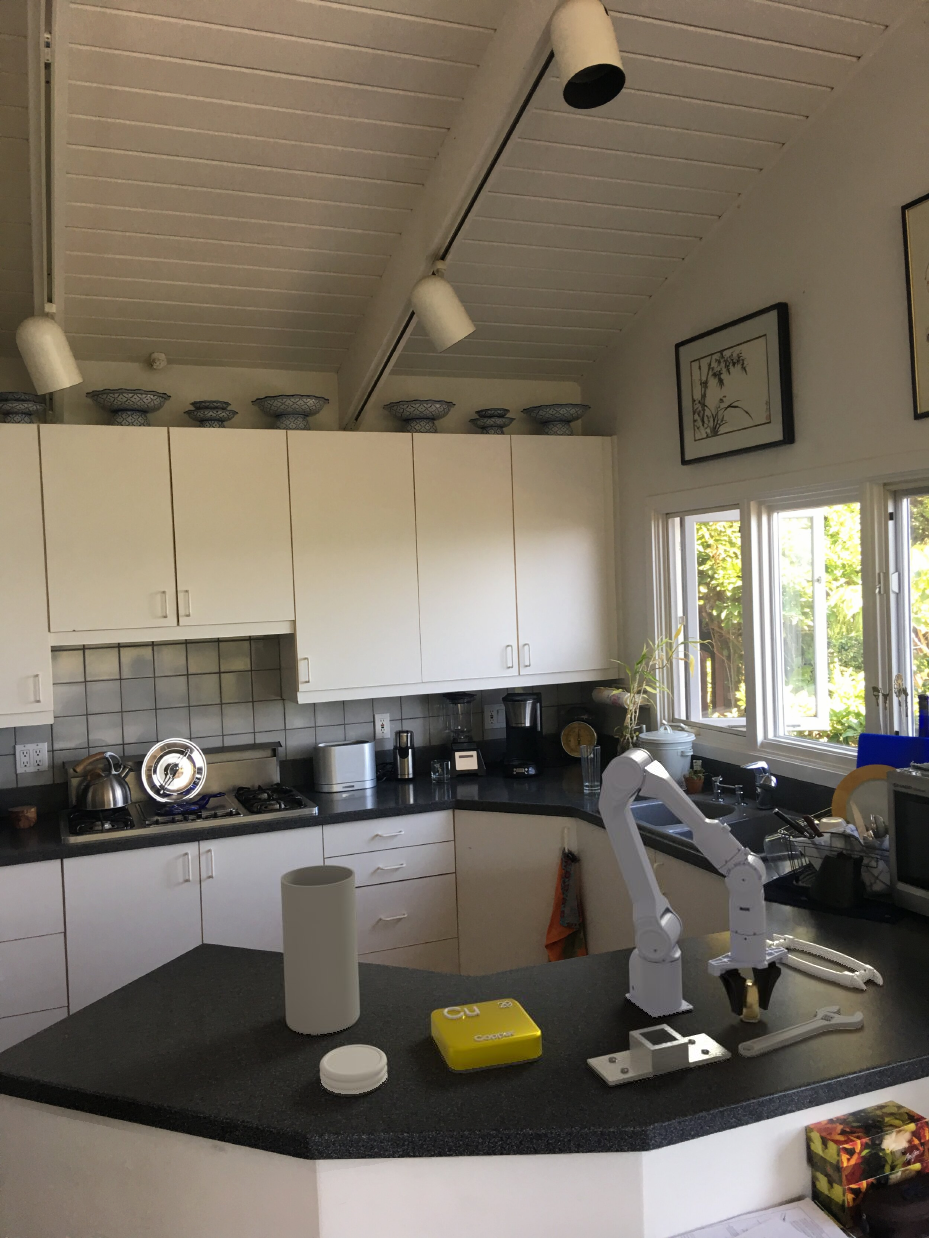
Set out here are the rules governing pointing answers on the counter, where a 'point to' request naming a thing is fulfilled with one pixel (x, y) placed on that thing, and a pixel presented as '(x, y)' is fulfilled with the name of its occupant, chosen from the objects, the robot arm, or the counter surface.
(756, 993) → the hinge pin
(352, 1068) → the white end cap
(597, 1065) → the mounting bracket
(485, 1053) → the element tile
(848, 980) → the white tongs
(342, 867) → the cylinder vase
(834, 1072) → the counter surface
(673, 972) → the robot arm
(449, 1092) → the counter surface
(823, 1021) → the adjustable wrench
